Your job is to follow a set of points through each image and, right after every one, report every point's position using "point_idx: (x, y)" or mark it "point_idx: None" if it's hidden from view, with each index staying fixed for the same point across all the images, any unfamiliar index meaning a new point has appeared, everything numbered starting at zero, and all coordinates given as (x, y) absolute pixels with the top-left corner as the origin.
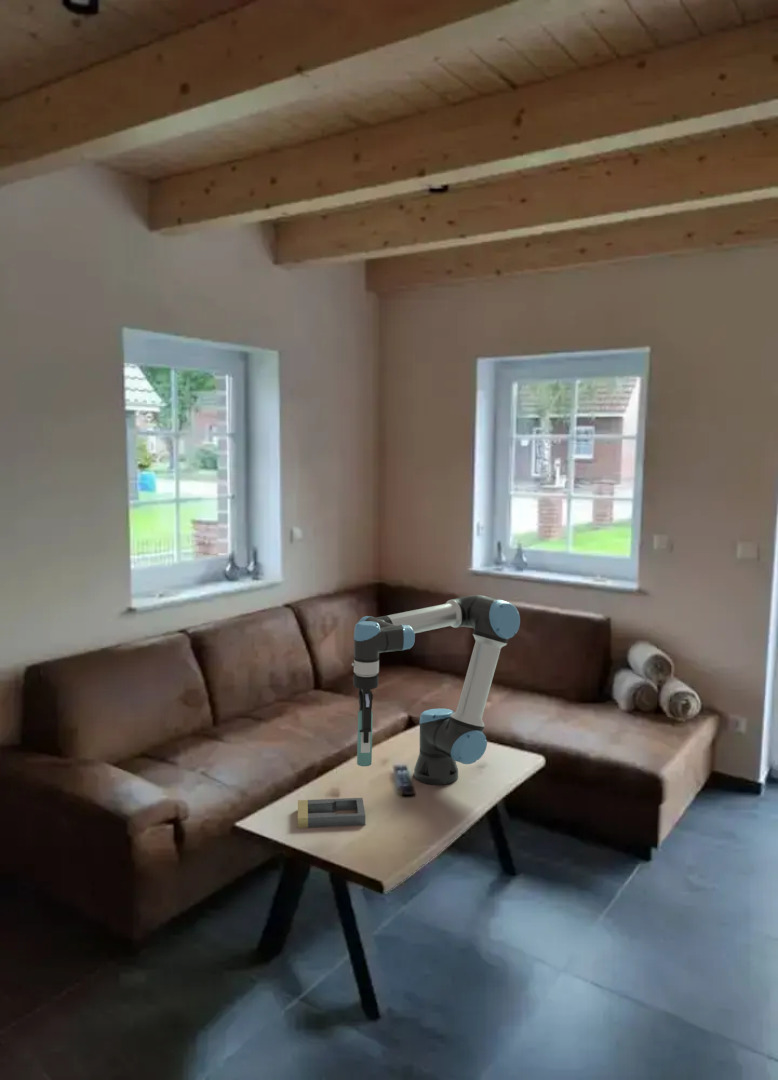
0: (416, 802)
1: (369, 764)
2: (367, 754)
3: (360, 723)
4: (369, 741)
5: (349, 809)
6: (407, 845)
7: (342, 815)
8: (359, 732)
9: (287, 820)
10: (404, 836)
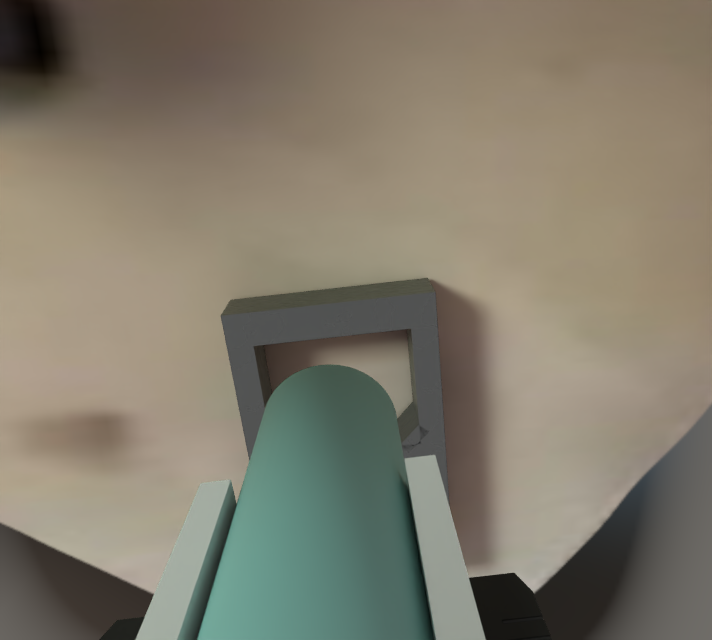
0: None
1: (376, 386)
2: (400, 461)
3: None
4: (461, 562)
5: (265, 359)
6: (648, 55)
7: (432, 401)
8: None
9: None
10: (552, 70)
